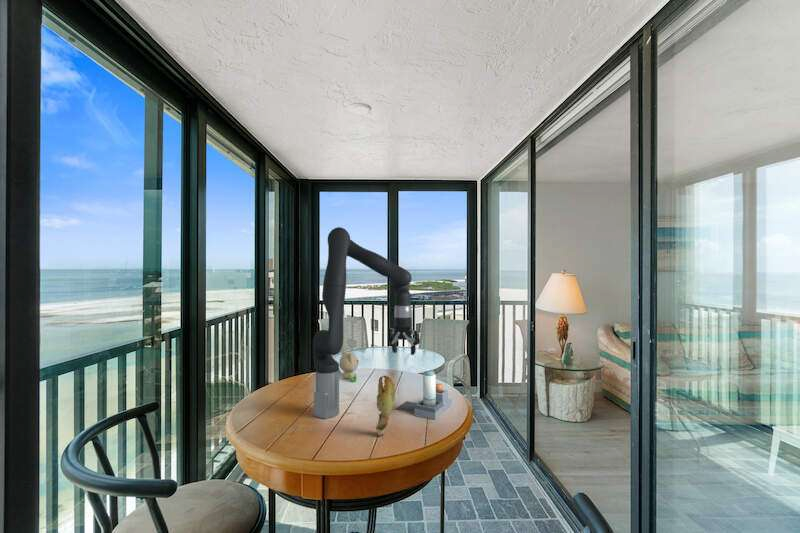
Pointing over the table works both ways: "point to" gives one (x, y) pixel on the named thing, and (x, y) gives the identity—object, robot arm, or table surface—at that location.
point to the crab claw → (384, 403)
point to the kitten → (348, 365)
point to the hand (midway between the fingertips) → (403, 353)
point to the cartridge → (429, 389)
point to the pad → (407, 406)
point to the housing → (435, 412)
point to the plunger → (439, 387)
